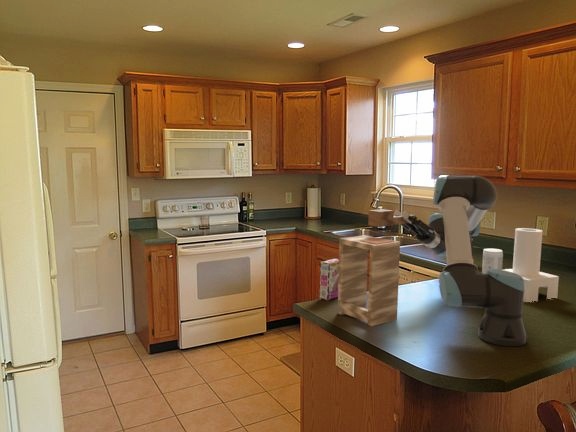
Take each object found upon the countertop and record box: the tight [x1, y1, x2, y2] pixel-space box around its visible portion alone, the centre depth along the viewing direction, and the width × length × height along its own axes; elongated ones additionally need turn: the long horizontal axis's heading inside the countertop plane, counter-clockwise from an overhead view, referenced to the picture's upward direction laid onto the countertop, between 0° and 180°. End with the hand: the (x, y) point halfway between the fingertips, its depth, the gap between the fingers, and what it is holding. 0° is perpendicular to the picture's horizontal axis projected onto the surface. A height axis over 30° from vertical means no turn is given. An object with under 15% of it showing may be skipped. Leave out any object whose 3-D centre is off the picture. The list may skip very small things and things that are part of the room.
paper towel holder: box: [504, 227, 560, 303], centre depth 216 cm, size 19×19×30 cm
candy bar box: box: [319, 258, 339, 302], centre depth 209 cm, size 11×5×16 cm, turn 141°
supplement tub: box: [481, 247, 504, 274], centre depth 248 cm, size 10×10×15 cm
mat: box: [360, 237, 396, 244], centre depth 179 cm, size 8×10×1 cm
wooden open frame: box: [337, 234, 401, 327], centre depth 184 cm, size 18×14×30 cm
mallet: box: [367, 208, 417, 228], centre depth 197 cm, size 24×6×6 cm, turn 128°
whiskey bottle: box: [470, 236, 474, 263], centre depth 278 cm, size 10×10×32 cm
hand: (399, 213), depth 199 cm, fingers closed on mallet, 3 cm apart
